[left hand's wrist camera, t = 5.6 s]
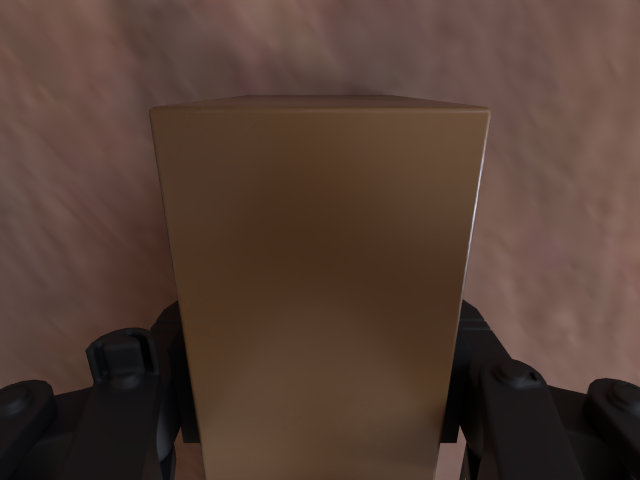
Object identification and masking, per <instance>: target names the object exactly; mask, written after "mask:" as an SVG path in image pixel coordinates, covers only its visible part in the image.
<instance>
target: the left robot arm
mask: <svg viewBox="0 0 640 480" xmlns="http://www.w3.org/2000/svg"><path fill="white" fill-rule="evenodd" d="M86 355H87V358H88V362H89V366H90V370H91V373H92V377H93V381H94V384H93V387H89V388H86V389H82V390H78V391H73V392H69V393H64V394H59V395H55V396H54V393H53V390H52V387H51V385H49V384H48V383H47V382H46V381H41V380H28V381H21V382H18V383H15V384H11V385H9V386H6V387H4V388H2V389H0V480H174V478H175V467H176V453H175V447H174V441H175V439H176V436H177V434H178V432H179V429H180V427H181V430H182V436H183V442H184V443H200V438H199V432H198V426H197V419H196V413H195V406H194V400H193V393H192V387H191V380H190V374H189V367H188V361H187V354H186V348H185V342H184V335H183V329H182V322H181V316H180V309H179V303H178V301H176V302H175V303H173V304H172V305H170V306H169V307H167V308H166V309H165V310H163V312H162V313H161V315H160V316H159V318H158V319H157V320H156V323H154V325H153V326H152V328H151V329H150V331H148V330H146V329H142V328H125V329H120V330H116V331H113V332H110V333H108V334H105V335H103V336H101V337H100V338H98V339H97V340H95V341H94V342H92V343H91V344H90V346H89V347H88V348H87V349H86ZM459 426H460V427H461V429H462V432H463V434H464V436H465V439H466V441H467V442H466V447H465V452H464V458H463V463H462V468H461V474H460V480H465V477H466V480H640V387H638V386H636V385H634V384H631V383H629V382H625V381H621V380H617V379H609V378H603V379H596V380H594V381H593V382H592V383H591V384H590V385H589V388H588V391H587V394H584V393H579V392H574V391H570V390H565V389H561V388H556V387H553V386H549V385H547V383H546V381H545V380H544V379H543V377H542V376H541V374H540V373H539V372H537V371H536V370H535V369H533V368H532V367H531V366H529V365H527V364H525V363H523V362H521V361H518V360H514V359H512V358H511V357H510V355H509V354H508V353H507V351H506V350H505V348H504V347H503V345H502V344H501V343H500V341H499V340H498V338H497V337H496V336H495V334H494V333H493V331H492V330H490V327H489V326H488V324H487V323H486V321H484V318H483V317H482V316H481V314H480V313H479V311H478V310H477V309H476V308H475V307H473V306H472V305H470V304H469V303H468V302H466V301H465V300H462V305H461V312H460V318H459V325H458V331H457V338H456V344H455V350H454V357H453V363H452V370H451V376H450V383H449V389H448V396H447V402H446V408H445V415H444V421H443V428H442V434H441V441H440V443H457V437H458V432H459Z"/></svg>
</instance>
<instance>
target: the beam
mask: <svg viewBox="0 0 640 480" xmlns="http://www.w3.org/2000/svg"><path fill="white" fill-rule="evenodd" d="M149 115H150V122H151V128H152V135H153V141H154V148H155V154H156V161H157V167H158V174H159V180H160V187H161V193H162V199H163V206H164V212H165V219H166V225H167V232H168V238H169V245H170V251H171V258H172V264H173V270H174V277H175V283H176V290H177V296H178V303H179V309H180V316H181V322H182V329H183V335H184V342H185V348H186V354H187V361H188V367H189V374H190V380H191V387H192V393H193V400H194V406H195V413H196V419H197V426H198V432H199V438H200V445H201V451H202V458H203V464H204V471H205V477H206V480H434V479H435V473H436V466H437V460H438V453H439V447H440V441H441V434H442V428H443V421H444V415H445V408H446V402H447V396H448V389H449V383H450V376H451V370H452V363H453V357H454V350H455V344H456V338H457V331H458V325H459V318H460V312H461V305H462V299H463V293H464V286H465V280H466V273H467V267H468V260H469V254H470V247H471V241H472V235H473V228H474V222H475V215H476V209H477V202H478V196H479V190H480V183H481V177H482V170H483V164H484V157H485V151H486V145H487V138H488V132H489V125H490V119H491V110H490V109H489V108H487V107H482V106H474V105H466V104H457V103H449V102H441V101H433V100H425V99H417V98H409V97H401V96H393V95H247V96H239V97H231V98H223V99H215V100H207V101H199V102H191V103H183V104H175V105H167V106H159V107H153V108H151V109H150V112H149Z"/></svg>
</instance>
